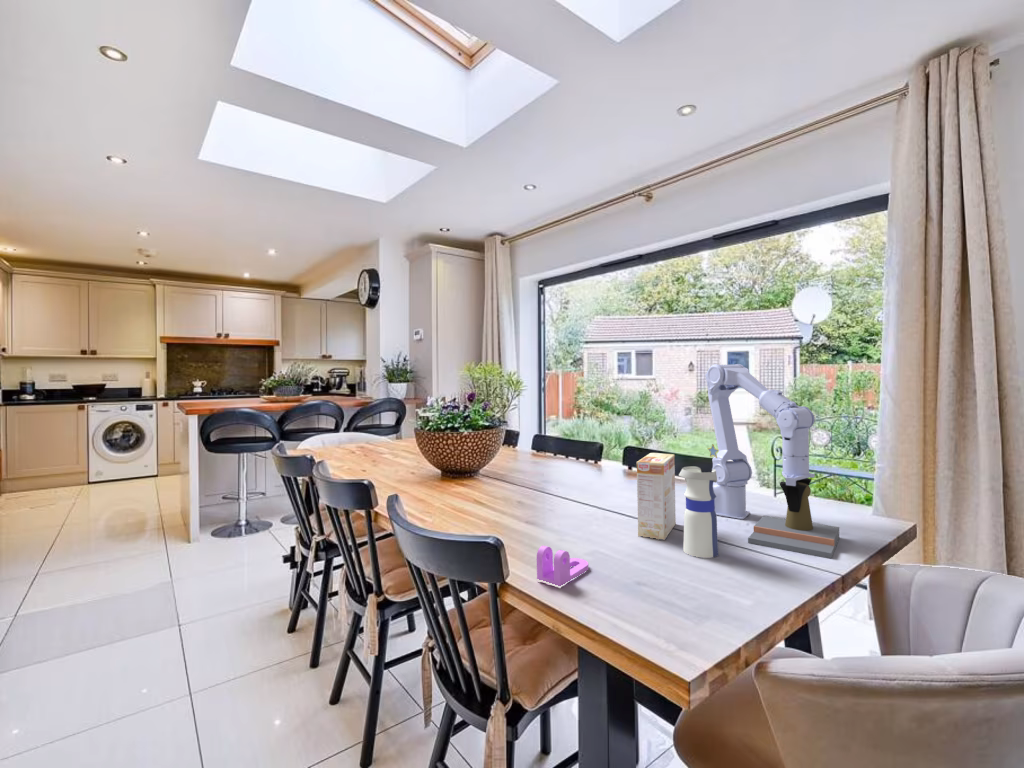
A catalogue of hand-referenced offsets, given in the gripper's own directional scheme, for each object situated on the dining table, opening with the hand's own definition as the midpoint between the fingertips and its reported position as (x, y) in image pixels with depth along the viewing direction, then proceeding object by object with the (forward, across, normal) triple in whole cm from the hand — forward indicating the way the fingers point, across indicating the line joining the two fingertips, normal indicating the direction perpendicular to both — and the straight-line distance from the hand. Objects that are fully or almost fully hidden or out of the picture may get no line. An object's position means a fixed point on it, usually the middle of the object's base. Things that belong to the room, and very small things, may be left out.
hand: (796, 509), depth 120 cm
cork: (+5, 0, 0) cm, 5 cm away
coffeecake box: (+7, -15, +30) cm, 34 cm away
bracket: (+7, -53, +34) cm, 64 cm away
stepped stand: (+7, -3, 0) cm, 8 cm away
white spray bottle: (+7, -24, +16) cm, 30 cm away
